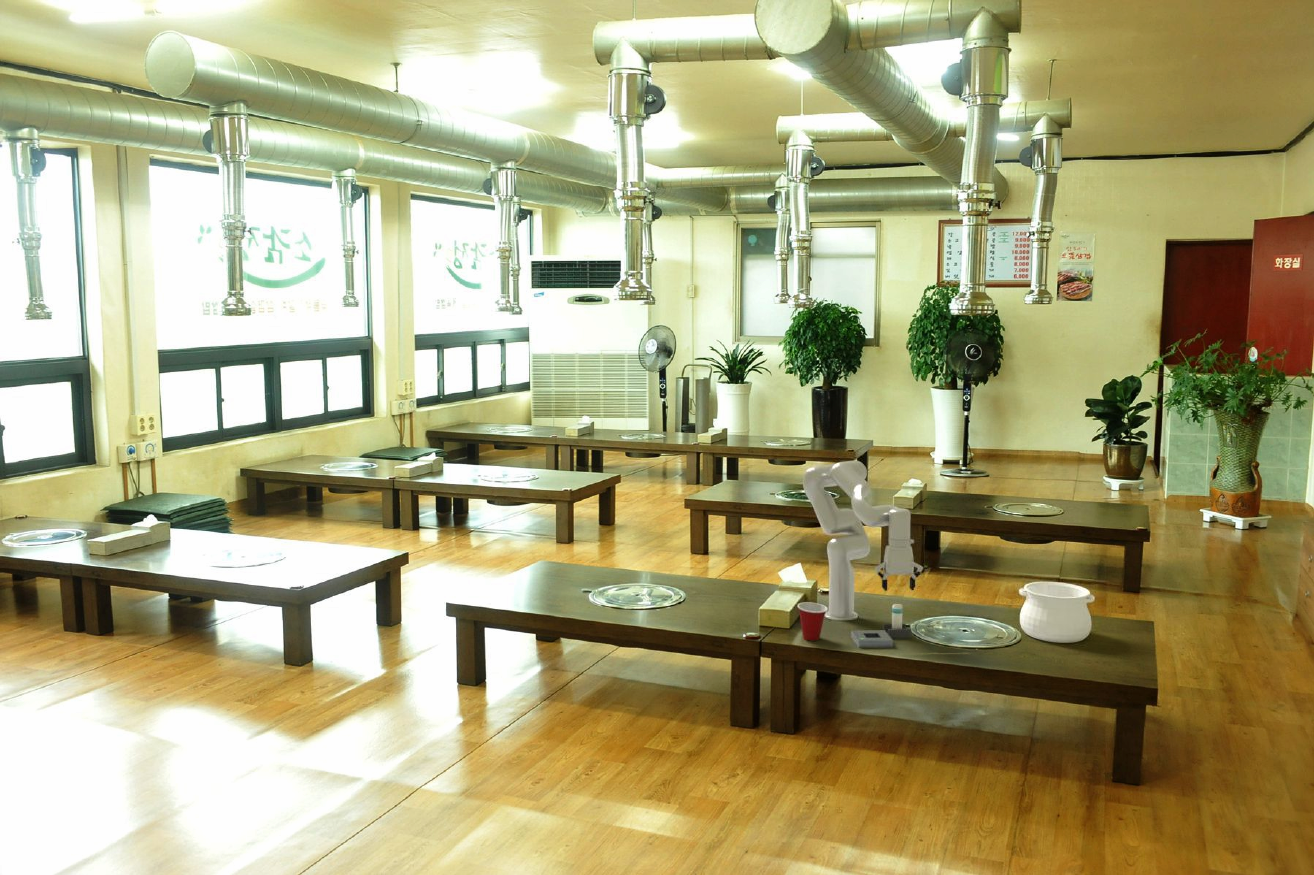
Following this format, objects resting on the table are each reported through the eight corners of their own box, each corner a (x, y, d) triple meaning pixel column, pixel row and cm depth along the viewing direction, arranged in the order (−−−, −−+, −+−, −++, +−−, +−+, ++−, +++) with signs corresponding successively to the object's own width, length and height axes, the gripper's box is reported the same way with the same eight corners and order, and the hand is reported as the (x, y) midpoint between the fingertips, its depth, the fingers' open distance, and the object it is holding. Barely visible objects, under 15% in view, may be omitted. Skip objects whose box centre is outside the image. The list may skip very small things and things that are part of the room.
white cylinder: (890, 633, 380) (891, 603, 379) (900, 633, 380) (901, 603, 379) (892, 636, 377) (893, 606, 375) (903, 636, 377) (903, 606, 376)
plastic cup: (822, 644, 369) (823, 611, 368) (793, 640, 374) (793, 608, 373) (830, 636, 379) (831, 603, 378) (802, 632, 384) (802, 600, 382)
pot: (1013, 639, 375) (1015, 593, 373) (1021, 621, 397) (1023, 578, 395) (1090, 649, 364) (1093, 602, 362) (1094, 630, 386) (1096, 585, 384)
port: (851, 638, 376) (851, 629, 376) (884, 638, 376) (884, 629, 376) (858, 649, 364) (858, 640, 364) (892, 648, 365) (893, 639, 364)
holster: (882, 633, 382) (883, 623, 382) (904, 632, 383) (904, 623, 382) (888, 640, 375) (888, 630, 374) (910, 639, 375) (910, 630, 374)
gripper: (920, 540, 379) (919, 586, 380) (872, 541, 378) (872, 587, 380) (926, 544, 371) (925, 592, 373) (877, 545, 371) (877, 592, 372)
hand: (898, 589), depth 376 cm, fingers open, 9 cm apart
